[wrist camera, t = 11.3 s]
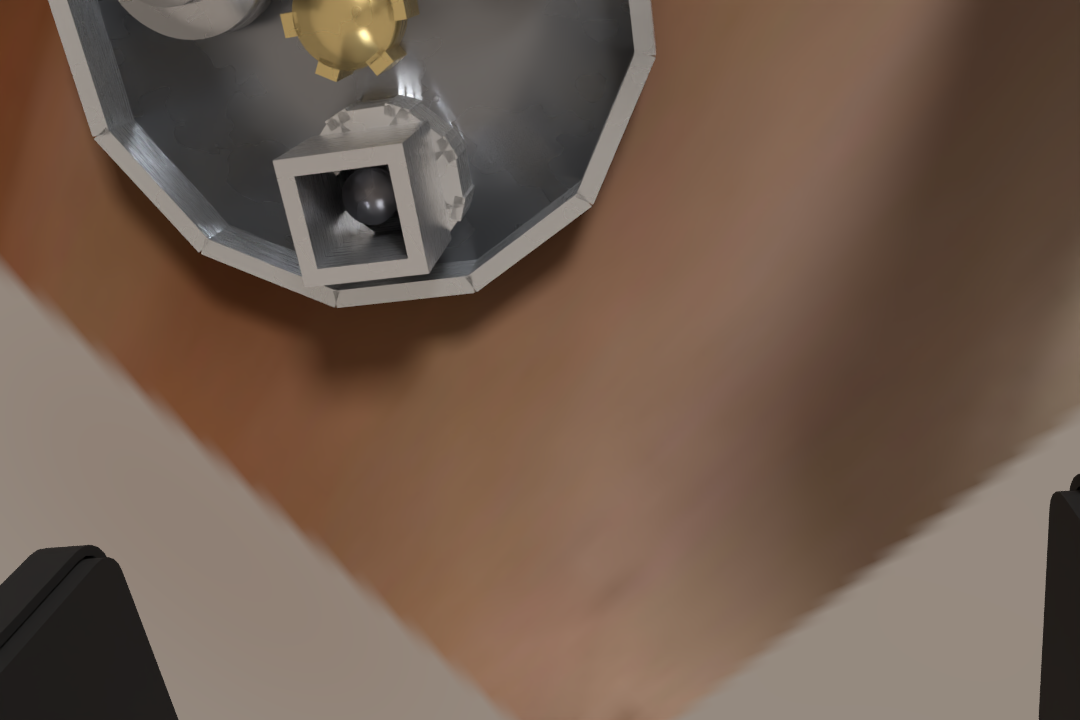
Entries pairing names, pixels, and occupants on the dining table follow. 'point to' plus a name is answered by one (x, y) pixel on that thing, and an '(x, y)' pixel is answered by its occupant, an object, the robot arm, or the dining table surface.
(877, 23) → the dining table surface
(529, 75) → the tray
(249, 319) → the dining table surface
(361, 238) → the grey hollow boxy piece
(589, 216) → the dining table surface
